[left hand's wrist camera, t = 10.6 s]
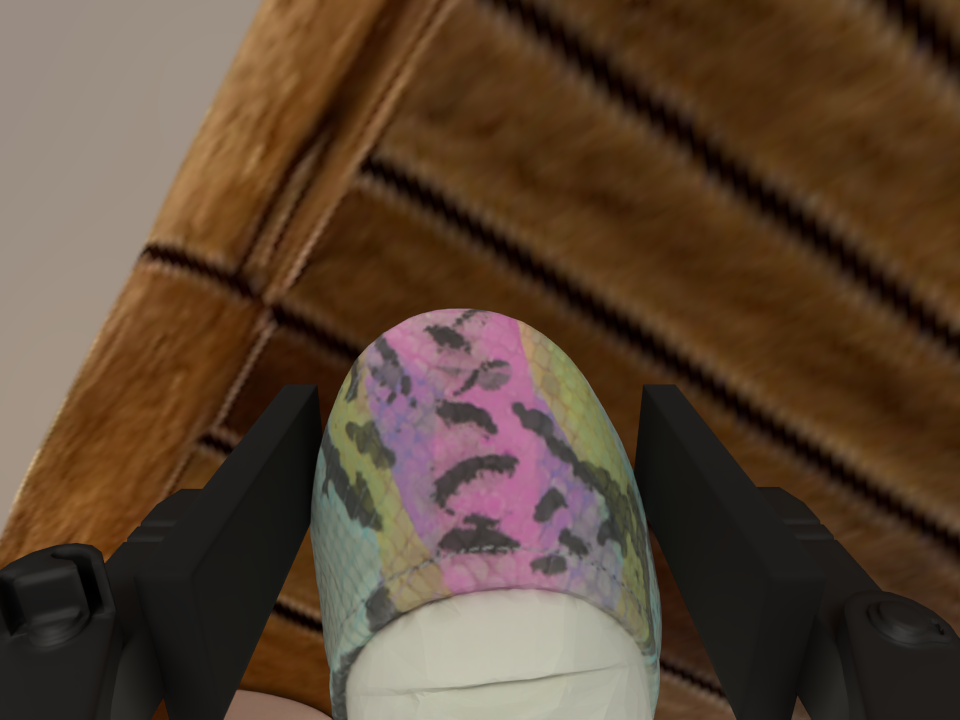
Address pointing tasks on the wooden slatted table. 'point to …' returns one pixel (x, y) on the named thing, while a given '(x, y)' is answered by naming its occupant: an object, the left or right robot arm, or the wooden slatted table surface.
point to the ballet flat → (480, 534)
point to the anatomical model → (269, 708)
